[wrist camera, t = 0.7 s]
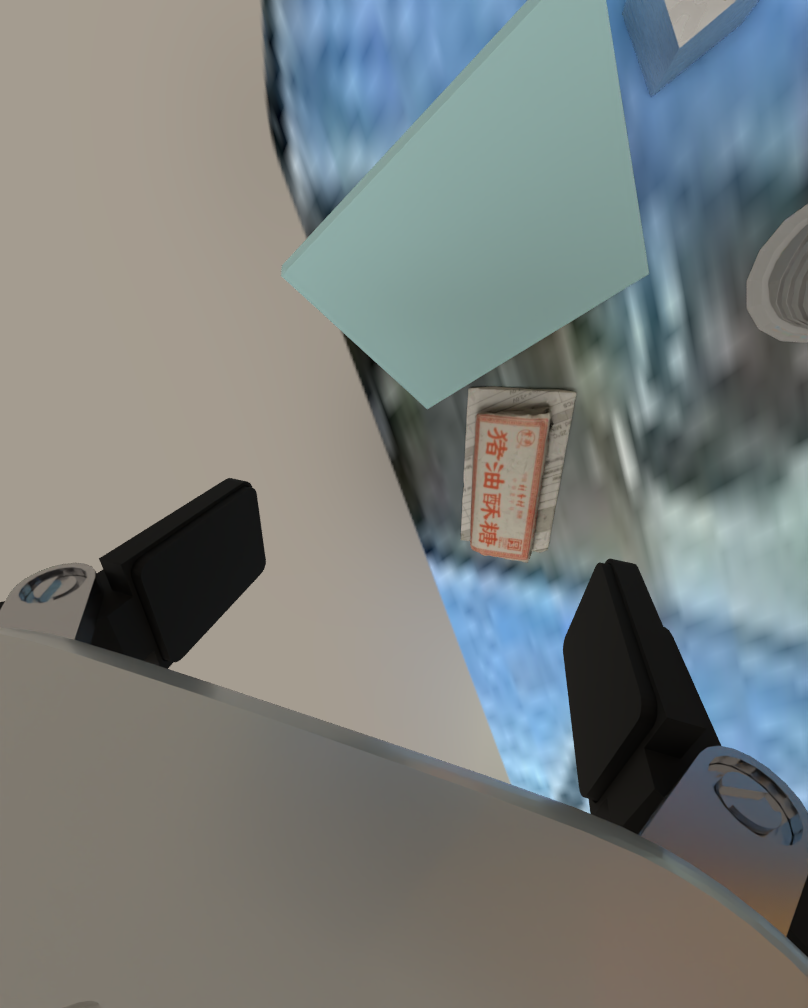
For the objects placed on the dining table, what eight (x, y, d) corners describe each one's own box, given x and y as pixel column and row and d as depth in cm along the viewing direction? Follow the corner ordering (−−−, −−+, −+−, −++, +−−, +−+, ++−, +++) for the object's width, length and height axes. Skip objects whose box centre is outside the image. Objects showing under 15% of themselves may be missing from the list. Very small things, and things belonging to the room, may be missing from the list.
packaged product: (548, 572, 40) (454, 557, 42) (547, 547, 44) (461, 535, 46) (581, 399, 31) (461, 395, 34) (576, 387, 35) (469, 384, 38)
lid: (585, -63, 13) (596, -58, 12) (642, 264, 23) (649, 273, 23) (281, 265, 21) (281, 276, 20) (425, 400, 31) (427, 409, 31)
